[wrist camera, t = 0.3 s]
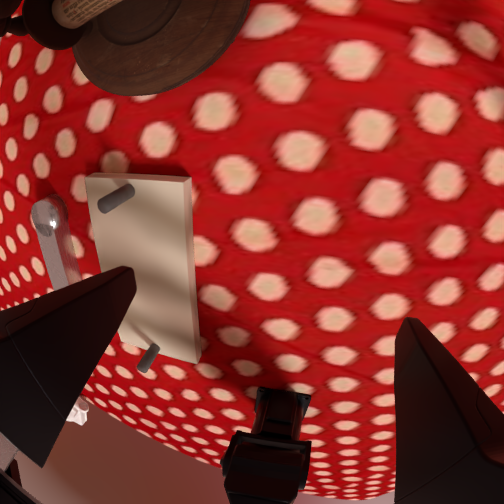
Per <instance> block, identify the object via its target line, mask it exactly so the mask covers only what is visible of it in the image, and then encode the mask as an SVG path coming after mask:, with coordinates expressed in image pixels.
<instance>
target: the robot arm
mask: <svg viewBox="0 0 504 504" xmlns="http://www.w3.org/2000/svg"><path fill="white" fill-rule="evenodd" d="M136 292H137V285H136V279H135V273H134V270H133V268H132V267H128V266H124V265H122V266H119V267H116V268H113V269H111V270H108V271H105V272H103V273H100V274H97V275H94V276H92V277H89V278H87V279H84V280H81V281H79V282H76V283H73V284H71V285H68V286H66V287H63V288H60V289H58V290H55V291H53V292H50V293H48V294H45V295H43V296H40V297H39V298H35V299H32V300H30V301H27V302H25V303H22V304H19V305H17V306H14V307H11V308H8V309H5V310H2V311H0V504H42V503H41V502H40V501H38V500H37V499H36V498H34V497H33V496H32V495H31V494H29V493H28V492H27V491H26V490H24V489H23V488H22V484H21V479H20V475H19V469H18V464H17V461H16V460H15V459H14V457H15V455H16V454H17V452H18V451H20V452H21V453H23V454H24V455H25V456H26V457H27V458H29V459H30V460H31V461H33V462H34V463H35V464H37V465H38V466H39V467H41V468H42V467H43V466H44V464H45V462H46V460H47V457H48V456H49V454H50V452H51V450H52V448H53V445H54V443H55V441H56V439H57V437H58V435H59V433H60V431H61V430H62V428H63V426H64V424H65V421H66V420H67V418H68V416H69V414H70V412H71V410H72V408H73V406H74V405H75V403H76V401H77V399H78V397H79V395H80V394H81V392H82V390H83V388H84V386H85V385H86V383H87V381H88V379H89V378H90V376H91V374H92V372H93V371H94V369H95V367H96V365H97V364H98V362H99V360H100V359H101V357H102V355H103V353H104V352H105V350H106V348H107V347H108V345H109V343H110V342H111V340H112V339H113V337H114V335H115V334H116V332H117V330H118V329H119V327H120V325H121V323H122V321H123V319H124V317H125V315H126V313H127V311H128V309H129V307H130V305H131V303H132V300H133V298H134V297H135V294H136ZM394 393H395V411H396V480H395V498H394V502H395V503H394V504H504V414H503V413H502V412H501V411H500V410H499V409H498V407H497V406H496V405H495V404H494V403H493V402H492V401H491V399H490V398H489V397H488V396H487V395H486V394H485V392H484V391H483V390H482V389H481V388H479V385H478V384H477V383H476V382H475V381H474V379H473V378H472V377H471V376H470V375H469V374H468V373H467V371H466V370H465V369H464V368H463V367H462V366H461V365H460V363H459V362H458V361H457V360H456V359H455V358H454V357H453V356H452V355H451V353H450V352H449V351H448V350H447V349H446V348H445V347H444V346H443V345H442V344H441V342H440V341H439V340H438V339H437V338H436V337H435V336H434V335H433V334H432V333H431V332H430V331H429V330H428V329H427V328H426V326H425V325H424V324H423V323H422V322H421V321H420V320H419V319H417V318H412V317H406V318H405V319H404V320H403V323H402V325H401V327H400V329H399V331H398V333H397V335H396V339H395V367H394ZM306 397H308V398H306ZM310 400H311V396H310V395H307V394H300V393H294V392H288V391H282V390H276V389H270V388H265V387H259V388H258V390H257V398H256V406H255V413H256V416H255V420H254V423H253V427H252V430H251V433H246V432H242V431H240V430H237V431H236V434H235V435H232V438H231V441H230V444H229V446H228V448H227V450H226V452H225V453H224V455H223V457H222V458H221V460H220V464H221V466H222V470H223V477H226V478H225V481H224V487H225V490H226V493H227V496H228V499H229V502H230V504H293V502H294V500H295V499H296V497H297V493H298V489H299V490H304V488H305V484H306V481H307V476H308V471H309V463H310V453H311V443H312V441H300V440H299V437H300V431H301V425H302V421H303V419H304V416H305V413H306V411H307V408H308V406H309V403H310Z"/></svg>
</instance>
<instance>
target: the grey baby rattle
mask: <svg viewBox="0 0 504 504" xmlns="http://www.w3.org/2000/svg"><path fill="white" fill-rule="evenodd" d="M32 219H33V222H34V225H35V227H36V231H37V235H38V239H39V243H40V247H41V250H42V254H43V257H44V260H45V264H46V267H47V270H48V273H49V276H50V279H51V282H52V285H53V288H54V291H55V290H58V289H60V288H63V287H66V286H68V285H71V284H73V283H76V282H79V281H81V280H82V277H81V274H80V270H79V266H78V262H77V259H76V255H75V251H74V246H73V242H72V238H71V233H70V229H69V224H68V212H67V208H66V206H65V204H64V202H63V201H62V199H61V198H60V197H58V196H57V195H54V194H51V195H49V196H47V197H45V198H44V199H42V200H40V201H38V202H36V203H35V204H34V205H33V207H32Z"/></svg>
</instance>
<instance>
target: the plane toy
mask: <svg viewBox="0 0 504 504" xmlns="http://www.w3.org/2000/svg"><path fill="white" fill-rule="evenodd" d="M88 409H89V406H88V404H87V403H86V402H85V401H84V400H83V399H82V398H81V397H80V396H79V397H78V399H77V401H76V403H75V405H74V406H73V408H72V410H71V412H70V414H69V416H68V418H67V420H66V421H74V422H76V423H78V424H80V425H83V424H84V422H85V421H87V415H86V413H87V412H88Z"/></svg>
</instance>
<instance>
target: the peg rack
mask: <svg viewBox="0 0 504 504" xmlns="http://www.w3.org/2000/svg"><path fill="white" fill-rule="evenodd" d="M85 185H86V192H87V199H88V206H89V212H90V218H91V224H92V229H93V234H94V240H95V244H96V249H97V254H98V258H99V263H100V267H101V271H102V273H103V272H105V271H108V270H111V269H113V268H116V267H119V266H122V265H124V266H128V267H132V268H133V270H134V273H135V279H136V285H137V292H136V294H135V297H134V298H133V300H132V303H131V305H130V307H129V309H128V311H127V313H126V315H125V317H124V319H123V321H122V323H121V325H120V327H119V329H118V332H119V336H120V339H121V341H122V342H125V343H128V344H130V345H134V346H137V347H140V348H143V349H146V350H147V351H146V353H145V354H144V356H143V357H142V359H141V361H140V362H139V364H138V365H137V368H138V370H139V371H141V372H143V373H146V372H147V371H148V369H149V367H150V366H151V364H152V362H153V361H154V359H155V357H156V356H157V354H158V353H159V354H162V355H166V356H169V357H173V358H176V359H180V360H183V361H187V362H191V363H194V364H198V361H199V359H200V357H201V355H202V353H201V343H200V332H199V320H198V308H197V294H196V280H195V263H194V244H193V220H192V183H191V177H181V176H166V175H149V174H127V173H93V174H91V175H88V176H86V177H85Z"/></svg>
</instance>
